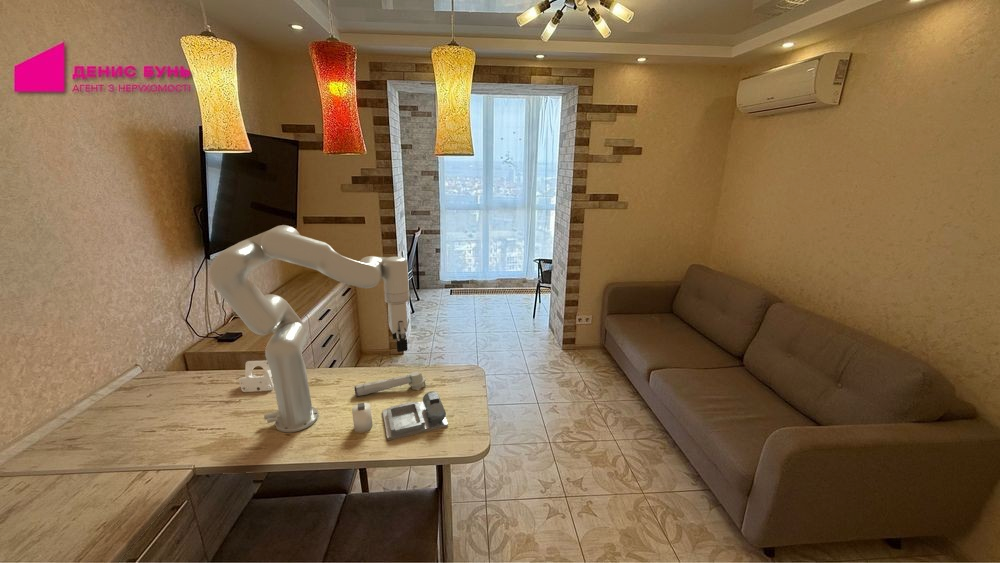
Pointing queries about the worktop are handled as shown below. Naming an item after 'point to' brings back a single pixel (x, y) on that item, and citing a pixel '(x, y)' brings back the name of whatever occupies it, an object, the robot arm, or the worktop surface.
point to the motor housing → (415, 417)
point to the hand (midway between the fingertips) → (400, 344)
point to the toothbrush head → (391, 384)
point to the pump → (362, 417)
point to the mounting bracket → (256, 377)
